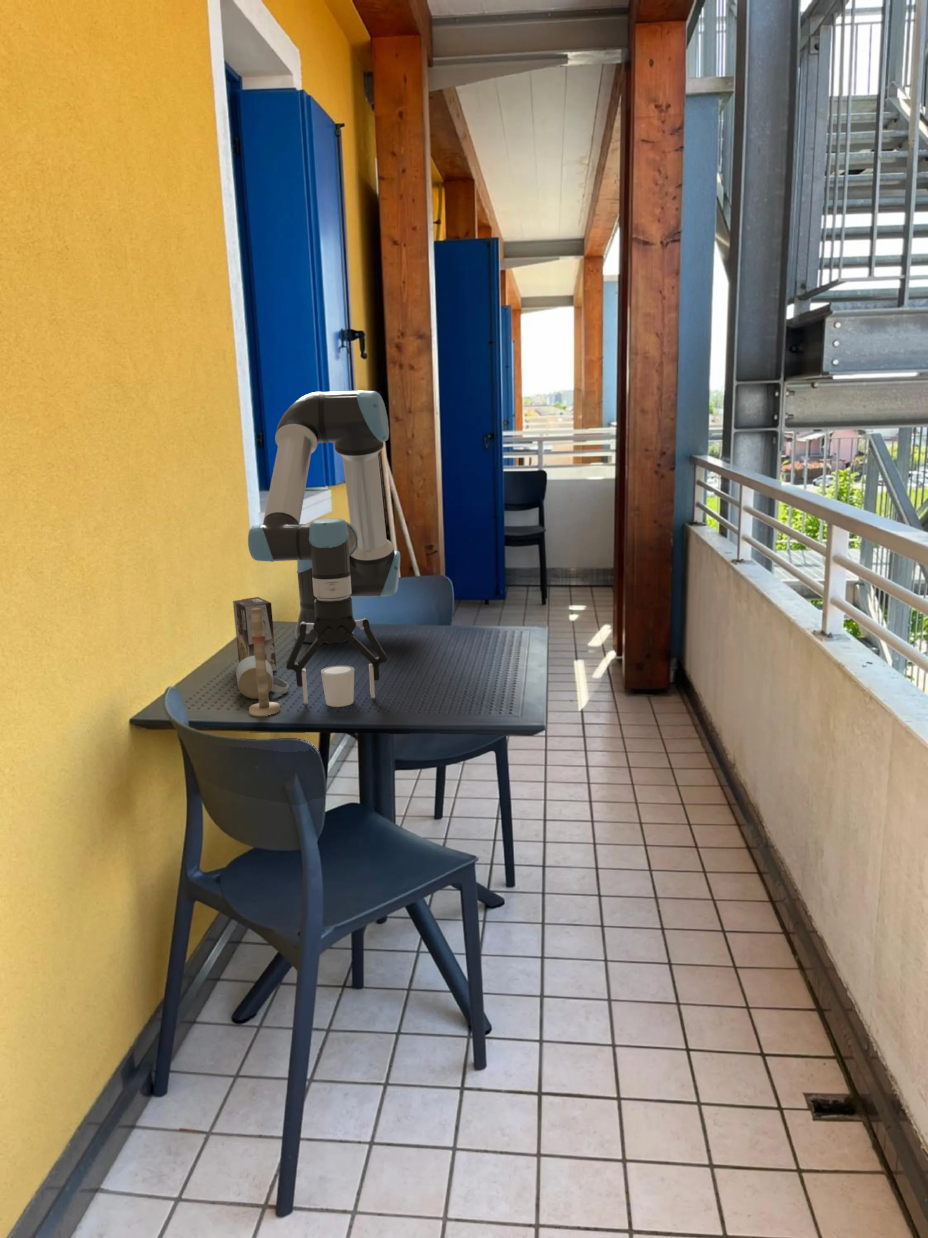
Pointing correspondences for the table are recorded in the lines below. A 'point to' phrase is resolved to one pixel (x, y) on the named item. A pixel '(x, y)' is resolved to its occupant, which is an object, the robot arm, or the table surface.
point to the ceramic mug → (249, 679)
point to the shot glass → (338, 685)
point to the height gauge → (261, 669)
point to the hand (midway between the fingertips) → (339, 698)
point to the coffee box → (245, 630)
